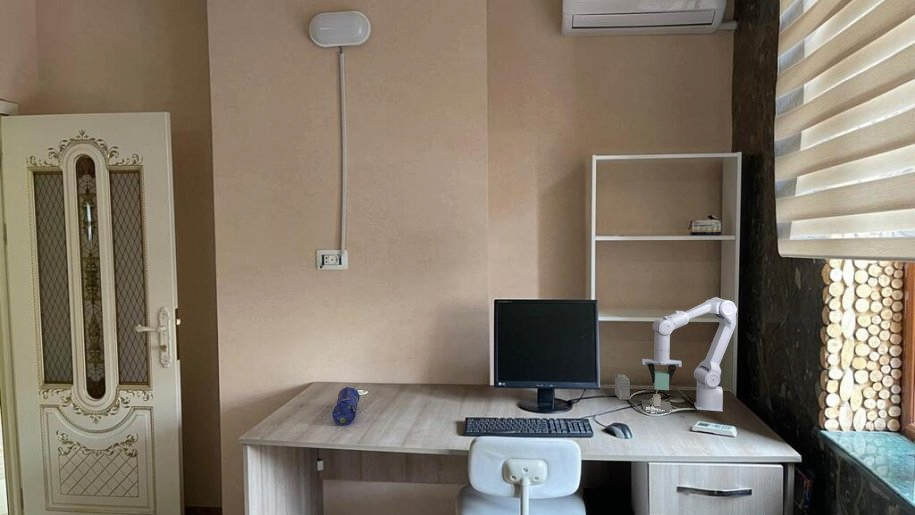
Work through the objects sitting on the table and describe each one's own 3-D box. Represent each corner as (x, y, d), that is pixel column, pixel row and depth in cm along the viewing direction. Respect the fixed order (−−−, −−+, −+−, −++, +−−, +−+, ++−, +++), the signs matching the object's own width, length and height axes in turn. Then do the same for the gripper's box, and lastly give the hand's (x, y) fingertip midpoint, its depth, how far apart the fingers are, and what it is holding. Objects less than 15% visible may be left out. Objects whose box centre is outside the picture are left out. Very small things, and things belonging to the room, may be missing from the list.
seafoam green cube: (667, 386, 224) (667, 371, 223) (668, 390, 219) (669, 374, 218) (653, 385, 225) (653, 370, 224) (654, 389, 220) (655, 374, 219)
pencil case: (355, 426, 205) (355, 401, 205) (332, 427, 205) (331, 402, 204) (360, 406, 227) (359, 383, 227) (338, 407, 226) (337, 384, 226)
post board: (669, 403, 229) (669, 392, 228) (672, 412, 218) (673, 400, 218) (641, 401, 231) (641, 390, 231) (643, 410, 221) (643, 398, 220)
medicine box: (629, 400, 234) (630, 379, 233) (619, 400, 234) (619, 379, 233) (624, 394, 242) (625, 374, 241) (614, 394, 242) (614, 374, 241)
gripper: (643, 350, 219) (642, 384, 220) (683, 352, 215) (682, 387, 216) (641, 346, 225) (641, 379, 226) (680, 348, 222) (679, 382, 223)
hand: (661, 383), depth 222 cm, fingers closed on seafoam green cube, 5 cm apart
